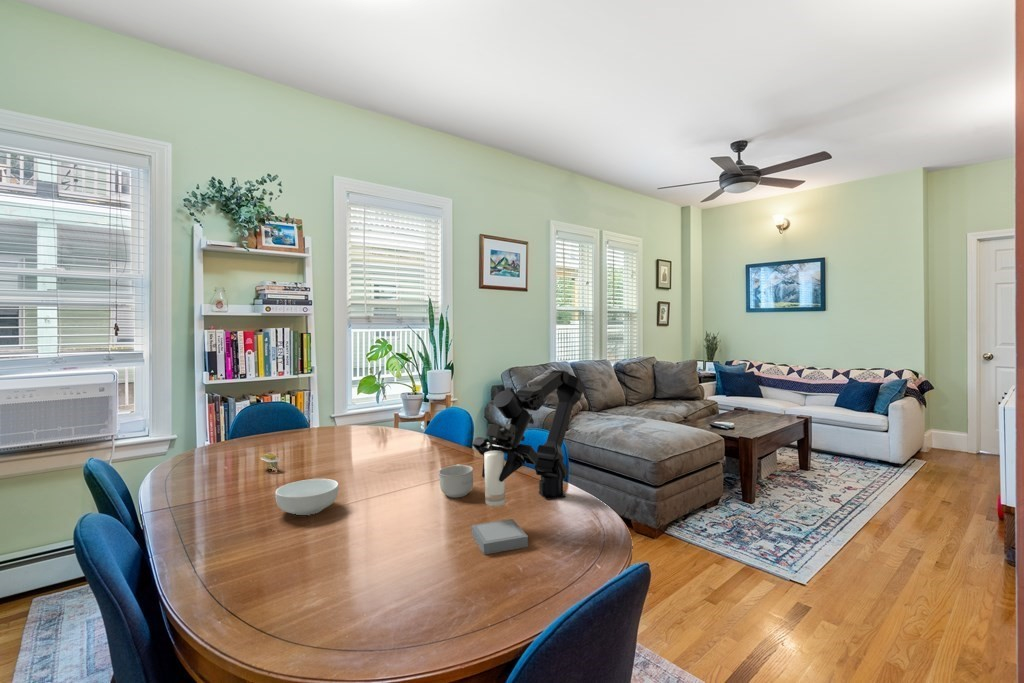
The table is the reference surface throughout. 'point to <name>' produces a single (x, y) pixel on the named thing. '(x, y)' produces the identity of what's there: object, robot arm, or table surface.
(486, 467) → the white cylinder
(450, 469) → the teacup
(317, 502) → the cereal bowl
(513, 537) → the base
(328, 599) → the table surface
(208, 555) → the table surface
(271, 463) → the yellow and grey piece
